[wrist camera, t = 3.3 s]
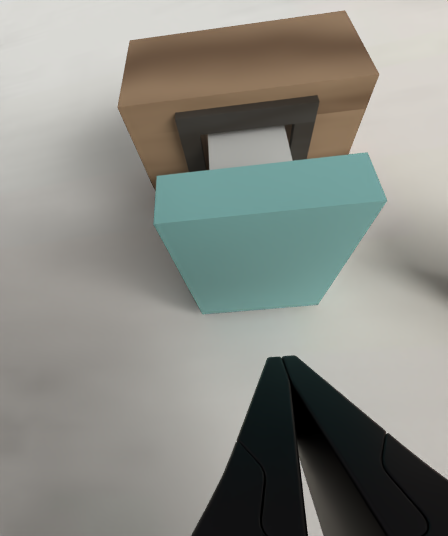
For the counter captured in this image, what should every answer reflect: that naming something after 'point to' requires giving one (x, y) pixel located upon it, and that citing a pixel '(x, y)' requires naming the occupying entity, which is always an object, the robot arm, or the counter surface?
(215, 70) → the block
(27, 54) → the counter surface
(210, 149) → the teal flanged block
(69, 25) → the counter surface
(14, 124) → the counter surface
